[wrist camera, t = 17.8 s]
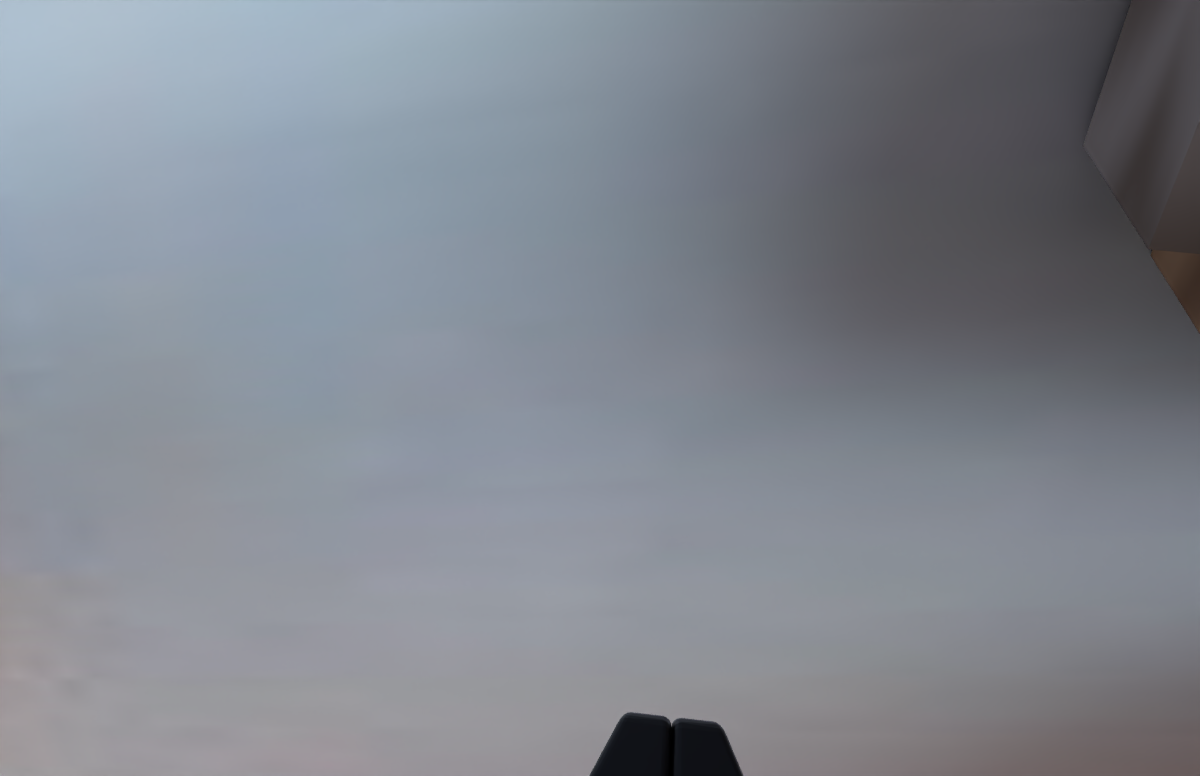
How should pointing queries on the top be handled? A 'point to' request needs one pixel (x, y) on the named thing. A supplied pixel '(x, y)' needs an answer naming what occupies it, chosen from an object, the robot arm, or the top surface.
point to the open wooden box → (1182, 279)
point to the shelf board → (1153, 123)
